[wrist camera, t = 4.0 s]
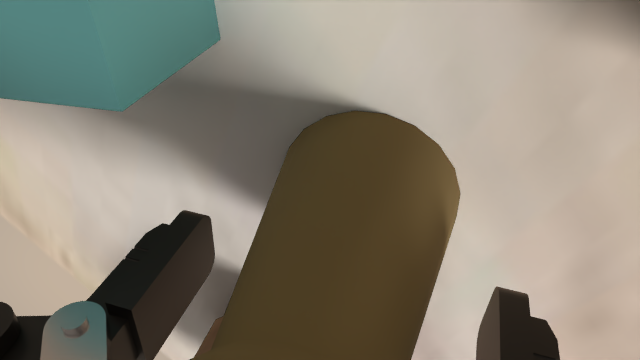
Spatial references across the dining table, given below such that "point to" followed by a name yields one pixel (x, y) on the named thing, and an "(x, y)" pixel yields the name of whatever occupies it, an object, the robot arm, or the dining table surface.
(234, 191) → the dining table surface
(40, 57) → the deep teal block
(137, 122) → the dining table surface
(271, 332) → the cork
